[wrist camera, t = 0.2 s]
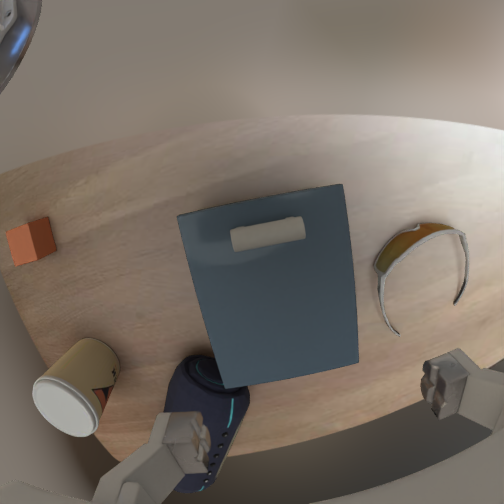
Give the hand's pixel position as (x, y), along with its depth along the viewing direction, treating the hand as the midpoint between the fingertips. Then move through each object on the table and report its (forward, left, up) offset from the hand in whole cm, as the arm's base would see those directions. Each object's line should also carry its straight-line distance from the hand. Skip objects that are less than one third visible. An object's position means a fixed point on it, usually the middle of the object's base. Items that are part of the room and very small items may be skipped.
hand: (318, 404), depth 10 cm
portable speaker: (+24, -14, -26) cm, 38 cm away
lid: (+3, 0, -17) cm, 18 cm away
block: (-6, -29, -26) cm, 40 cm away
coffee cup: (+13, -27, -26) cm, 40 cm away
